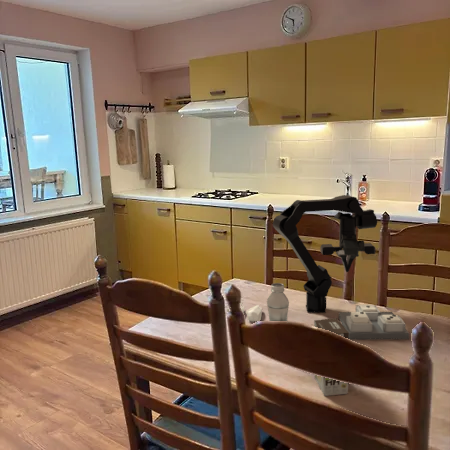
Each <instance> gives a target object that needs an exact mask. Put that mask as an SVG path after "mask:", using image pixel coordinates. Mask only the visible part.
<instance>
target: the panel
mask: <svg viewBox="0 0 450 450" xmlns="http://www.w3.org/2000/svg"><path fill="white" fill-rule="evenodd" d="M360 305H361V304H359V305H358V304H357V305H355V312H362V311H361V309H360ZM373 305H374V304H373ZM374 307H375V308H376V312H365V313H366V315H367V316H368V323H352V321H351V312H352V311H346V312H345V311H339V312H338V319H339V322H340V323H341V324H342V325H343V326H344V328H345V329H346V330H347V331H348V332H349V339H351V340H409V339H410V332H409V331H408V330H407V329H406V322H405V321H404V320H403V319H402V317H401V316H400V315H397V314H396V315H397V316H398V317H399V319H400V320H401V323H385V321H384V320H383V319H382V315H395V314H394V312H393V311H380V309H379V308H378V307H377V305H376V304H375V305H374Z"/></svg>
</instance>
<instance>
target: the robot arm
mask: <svg viewBox="0 0 450 450" xmlns="http://www.w3.org/2000/svg"><path fill="white" fill-rule="evenodd" d="M327 211H336V212H337V213H336V214H335V215H334V216H333V218H334V219H336V220H339V233H338V235H339V240H338V241H339V243H338V245H339V246H334V245H332V243H328V244H327V243H326V244H324V243H323V244H321V245H320V246H319V247H320V249H319V250H320V251H319V252H320V253H321V254H322V255H323V256H332V255H334V253H335V254H336V256H337V257H339V258H340V259H341V262H342V265H343V267H344V270H345V272H346V273H349V271H350V269H351V267H352V264H353V262H354V260H355V259H356V258H357V257H359V256H360V255H359V252H364V253H365V254H366V255H375V254H376V247H375V246H374V245H373V244H372V243H371V242H368V243H367V242H365V241H364V240H358V239H357V229H359V230H365V229H375V228H376V227H377V226H378V219H377V215H376V214H375V210H374V209H366V210H364V209H363V208H362V206H361V205H360V201H359V199H358V198H357V197H355V196H351V195H346V194H342V195H339V196H338V195H337V196H335V197H333V198H329V199H328V198H324V199H305V200H302V199H297V200H295V201H293V203H291V204H290V206H288V207H287V208H286V209H284V210H283V211H282V212H281V213H280V214H279V215H277V216H275V217H274V219H273V221H272V227H273V228H274V229H275V230H276V231H277V233H279V235H280V236H282V237H283V238H284V239H285V240H286V241H287V243H288V244H289V246H290V247H291V249H292V250H293V252H294V253H295V255H296V257H297V258H298V260H299V261H300V262H301V264H302V265H303V268H304V269H305V271H306V275H307V278H308V280H307V281H306V282H305V283H304V284H303V285H302V286H303V289H304V291H305V292H306V294H305V295H306V299H305V301H306V302H305V303H306V304H305V309H306V312H307V313H309V314H311V313H313V314H315V313H316V314H317V313H326V310H327V296H328V294H329V290H330V288H331V287H332V284H333V282H332V276H331V275H330V274H329V271H328V270H327V268H325V267H323V266H322V265H320V264H317V263H316V262H315V260H314V258H313V257H312V255H311V253H310V252H309V250H308V249H307V247H306V245H305V244H304V243H303V241H302V239H301V238H300V235H299V230H298V227H297V225H298V223H300V221H301V219H302V217H303V215H305V213H307V212H309V213H310V212H327ZM352 214H353V215H352Z"/></svg>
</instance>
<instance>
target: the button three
mask: <svg viewBox="0 0 450 450" xmlns="http://www.w3.org/2000/svg"><path fill="white" fill-rule="evenodd" d="M382 319H383V320H384V321H385V323H401V320H400V319H399V317H398V316H397V314H394V315H382Z"/></svg>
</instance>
